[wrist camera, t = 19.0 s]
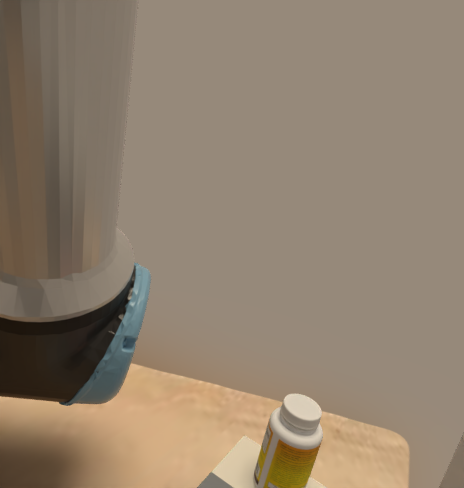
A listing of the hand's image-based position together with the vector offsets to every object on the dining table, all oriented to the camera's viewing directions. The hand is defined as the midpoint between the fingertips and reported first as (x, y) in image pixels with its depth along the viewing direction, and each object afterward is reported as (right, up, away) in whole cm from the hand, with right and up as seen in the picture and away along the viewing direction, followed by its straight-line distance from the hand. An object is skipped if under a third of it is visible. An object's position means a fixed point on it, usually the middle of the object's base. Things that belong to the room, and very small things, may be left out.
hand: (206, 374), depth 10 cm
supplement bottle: (+5, -21, +30) cm, 37 cm away
